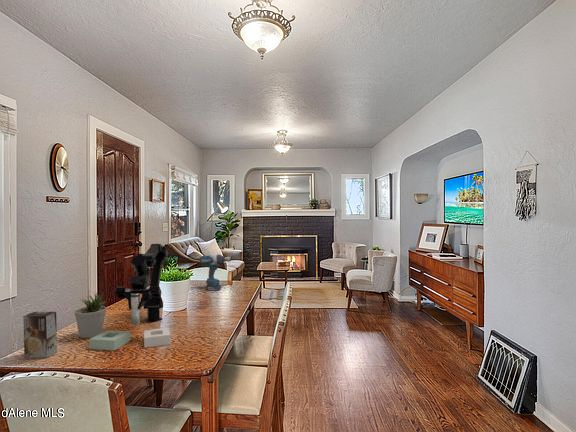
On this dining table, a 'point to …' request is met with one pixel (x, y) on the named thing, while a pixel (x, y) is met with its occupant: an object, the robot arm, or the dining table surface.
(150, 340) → the socket block
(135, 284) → the robot arm
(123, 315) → the dining table surface
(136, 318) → the metal cylinder
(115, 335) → the block
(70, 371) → the dining table surface
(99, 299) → the potted plant
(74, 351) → the dining table surface
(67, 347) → the dining table surface
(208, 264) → the impact wrench
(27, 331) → the coffee box
